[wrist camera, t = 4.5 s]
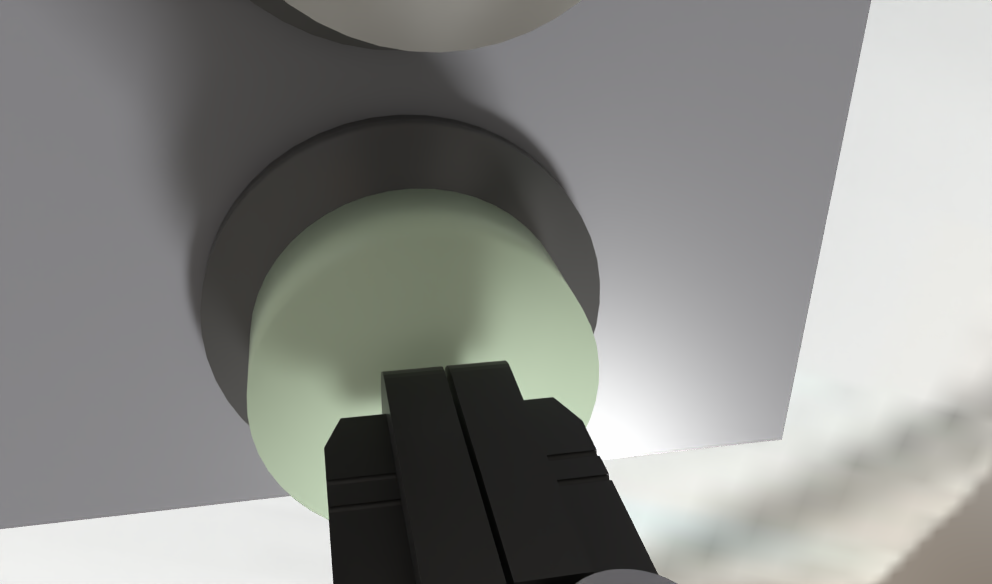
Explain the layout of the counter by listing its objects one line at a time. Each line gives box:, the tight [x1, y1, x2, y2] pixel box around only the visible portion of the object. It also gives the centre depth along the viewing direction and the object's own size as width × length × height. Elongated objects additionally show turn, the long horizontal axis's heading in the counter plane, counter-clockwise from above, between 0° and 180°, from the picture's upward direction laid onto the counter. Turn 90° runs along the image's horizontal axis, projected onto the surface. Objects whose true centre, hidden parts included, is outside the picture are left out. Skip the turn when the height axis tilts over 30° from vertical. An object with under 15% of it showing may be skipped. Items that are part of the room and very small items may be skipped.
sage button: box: [247, 189, 599, 520], centre depth 13 cm, size 5×5×2 cm
